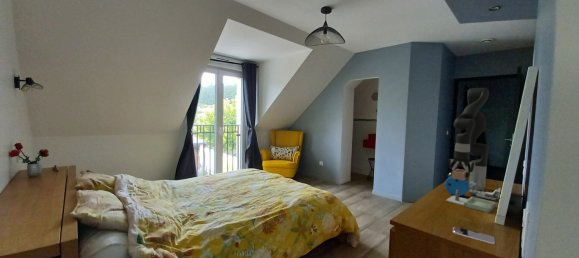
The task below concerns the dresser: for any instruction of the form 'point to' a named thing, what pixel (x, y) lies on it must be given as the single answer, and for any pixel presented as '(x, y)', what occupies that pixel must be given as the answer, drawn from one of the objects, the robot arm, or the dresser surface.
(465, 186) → the alarm clock
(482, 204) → the tray
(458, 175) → the ring
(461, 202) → the stake board
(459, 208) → the dresser surface
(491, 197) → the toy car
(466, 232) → the mobile phone
